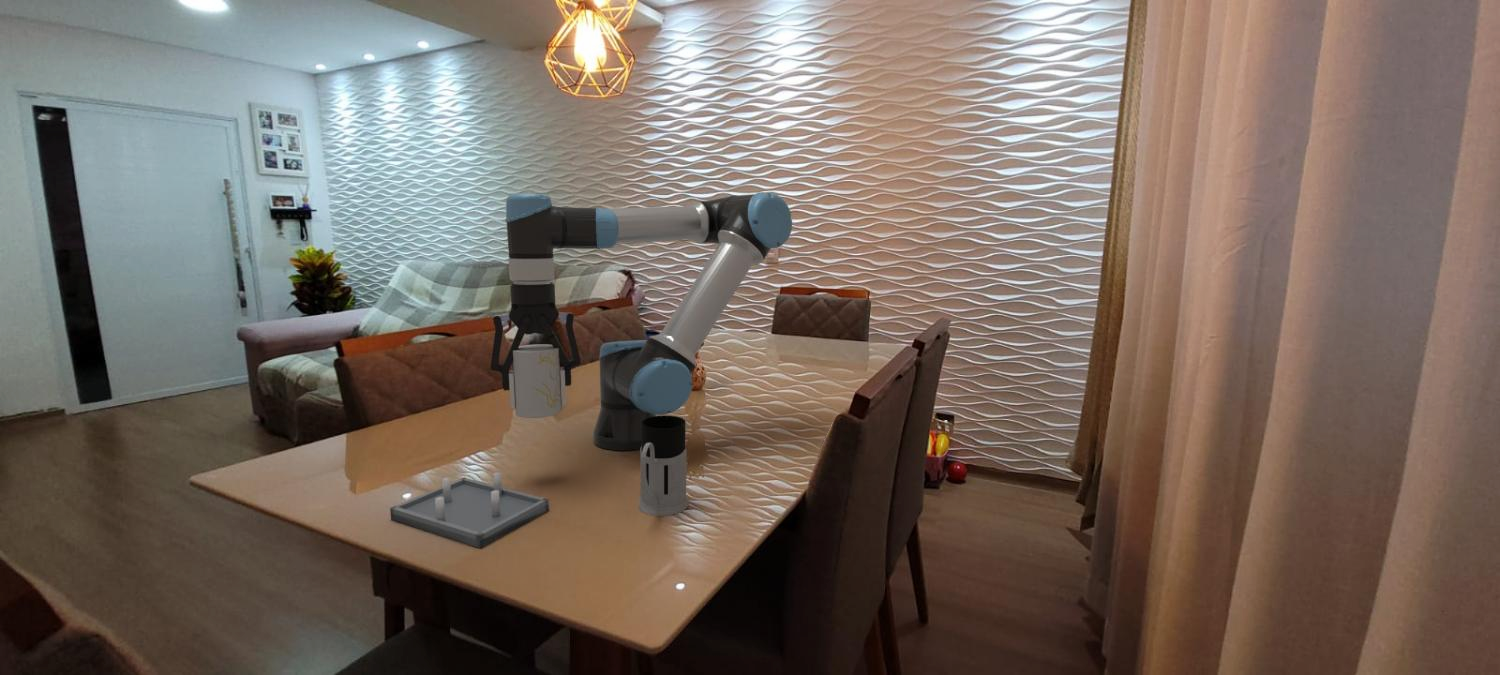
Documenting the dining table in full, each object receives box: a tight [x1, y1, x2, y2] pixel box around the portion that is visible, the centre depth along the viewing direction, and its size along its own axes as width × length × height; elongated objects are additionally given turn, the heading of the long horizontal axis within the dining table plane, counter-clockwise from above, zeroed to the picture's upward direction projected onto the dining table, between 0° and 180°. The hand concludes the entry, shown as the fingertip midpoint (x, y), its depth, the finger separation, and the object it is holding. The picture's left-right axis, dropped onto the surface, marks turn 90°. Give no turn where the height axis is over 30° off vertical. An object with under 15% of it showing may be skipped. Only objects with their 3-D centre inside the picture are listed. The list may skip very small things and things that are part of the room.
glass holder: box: [637, 415, 690, 517], centre depth 99 cm, size 9×14×15 cm, turn 170°
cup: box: [512, 343, 563, 419], centre depth 108 cm, size 8×8×12 cm
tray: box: [389, 471, 550, 549], centre depth 97 cm, size 20×14×5 cm
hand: (538, 404), depth 109 cm, fingers closed on cup, 8 cm apart
